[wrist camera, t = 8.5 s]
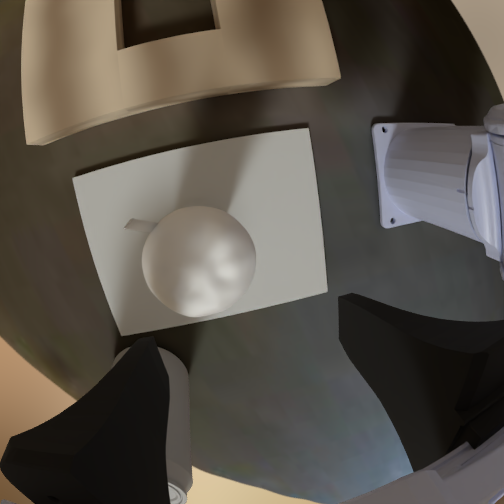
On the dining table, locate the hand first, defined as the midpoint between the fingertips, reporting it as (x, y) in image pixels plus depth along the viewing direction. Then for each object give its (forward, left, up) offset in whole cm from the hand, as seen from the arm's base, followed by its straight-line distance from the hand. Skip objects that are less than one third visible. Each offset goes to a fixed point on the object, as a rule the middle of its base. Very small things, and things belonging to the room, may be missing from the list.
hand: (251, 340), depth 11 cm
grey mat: (+1, -2, -10) cm, 11 cm away
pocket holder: (+1, -18, -10) cm, 20 cm away
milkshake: (+2, -3, -10) cm, 11 cm away
